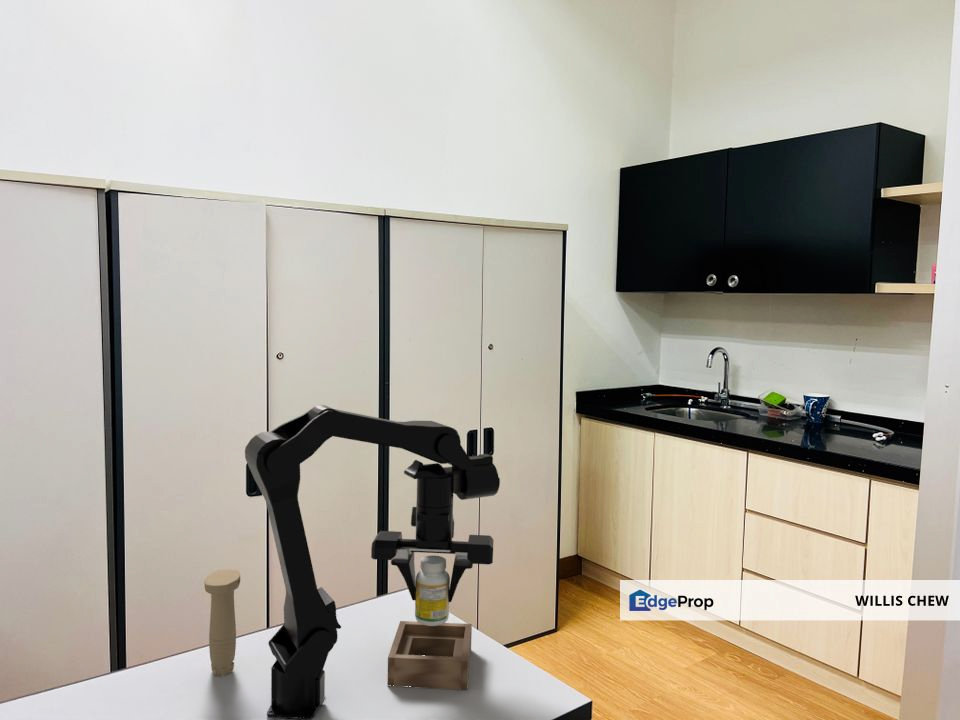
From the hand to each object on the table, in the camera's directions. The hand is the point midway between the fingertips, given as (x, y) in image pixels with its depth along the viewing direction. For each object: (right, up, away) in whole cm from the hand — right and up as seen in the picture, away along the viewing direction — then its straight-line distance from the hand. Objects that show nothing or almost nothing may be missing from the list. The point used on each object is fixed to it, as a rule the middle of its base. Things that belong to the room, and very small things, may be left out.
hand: (432, 600), depth 108 cm
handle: (-32, -11, -2) cm, 34 cm away
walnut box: (0, -11, +1) cm, 11 cm away
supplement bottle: (0, -3, 0) cm, 3 cm away
